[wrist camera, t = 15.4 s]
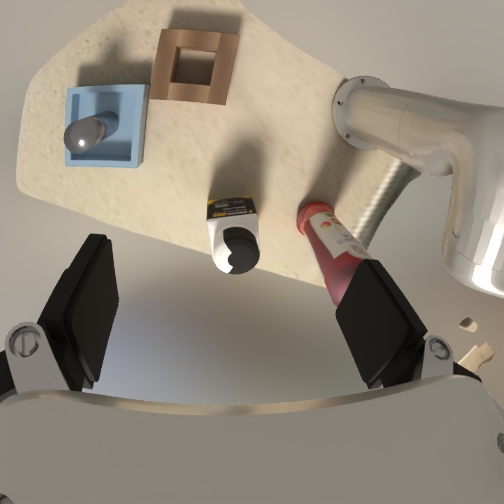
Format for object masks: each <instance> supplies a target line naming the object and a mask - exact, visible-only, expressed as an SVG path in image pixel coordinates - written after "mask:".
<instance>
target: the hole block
mask: <svg viewBox="0 0 504 504" xmlns="http://www.w3.org/2000/svg"><path fill="white" fill-rule="evenodd" d="M239 37H240V35H233V34H226V33H218V32H209V31H197V30H181V29H162V30H161V34H160V39H159V44H158V49H157V54H156V59H155V65H154V71H153V77H152V84H151V90H150V98H149V99H159V100H176V101H189V102H200V103H209V104H218V105H226V100H227V95H228V89H229V84H230V79H231V74H232V69H233V65H234V60H235V55H236V51H237V46H238V42H239ZM180 50H194V51H206V52H215V53H216V58H215V63H214V68H213V73H212V78H211V83H210V86H207V85H197V84H185V83H174V81H175V75H176V69H177V64H178V59H179V53H180Z"/></svg>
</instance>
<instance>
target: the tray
mask: <svg viewBox="0 0 504 504" xmlns="http://www.w3.org/2000/svg"><path fill="white" fill-rule="evenodd" d="M150 86H151V85H150V84H121V85H97V86H84V87H74V88H67V100H66V117H65V130H66V128H67V127H68V125H69V124H71V123H72V122H74V121H77V120H80V119H83V118H85V117H88V116H91V115H94V114H97V113H101V112H104V111H112V112H114V113H115V114H116V115H117V116H118V118H119V127H118V129H117V131H116V132H115V133H114V134H113V135H111V136H110V137H108V138H106V139H104V140H103V141H101V142H99V143H98V144H96V145H94V146H93V147H91V148H90V149H88V150H86V151H85V152H83V153H80V154H75V153H72V152H70V151H69V150H68V149H67V148H66V146H65V164H66V167H116V168H138V167H139V166H140V165H141V163H142V162H143V152H144V139H145V128H146V118H147V109H148V101H149V93H150Z"/></svg>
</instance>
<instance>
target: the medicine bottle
mask: <svg viewBox="0 0 504 504" xmlns="http://www.w3.org/2000/svg"><path fill="white" fill-rule="evenodd" d="M206 222H207V228H208V234H209V240H210V246H211V252H212V257H213V260H214V261H215V263H216V265H217V267H218V268H219V269H221V270H222V271H224V272H226V273H229V274H242V273H245V272H248V271H249V270H251V269H252V268H254V267H255V265H256V264H257V262H258V260H259V257H260V244H259V227H258V215H257V212H256V208H255V205H254V202H253V199H252V196H241V197H233V198H224V199H216V200H209V201H208V202H207V220H206Z"/></svg>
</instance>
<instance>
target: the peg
mask: <svg viewBox="0 0 504 504" xmlns="http://www.w3.org/2000/svg"><path fill="white" fill-rule="evenodd" d="M118 127H119V118H118V116H117V115H116V114H115V113H114V112H112V111H104V112H101V113H97V114H94V115H91V116H88V117H85V118H83V119H80V120H77V121H74V122H72V123H71V124H69V125H68V127H67V128H66V130H65V133H64V143H65V146H66V148H67V149H68V150H69V151H70V152H72V153H75V154H80V153H83V152H85V151H86V150H88V149H90V148H91V147H93V146H94V145H96V144H98V143H99V142H101V141H103V140H104V139H106V138H108V137H110V136H111V135H113V134H114V133H115V132H116V131H117V129H118Z"/></svg>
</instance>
